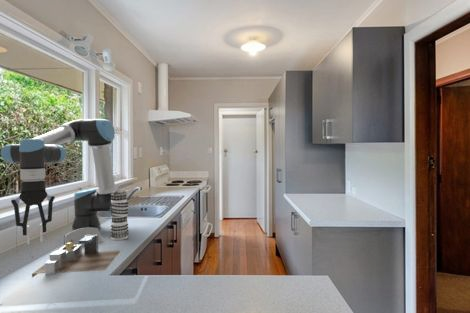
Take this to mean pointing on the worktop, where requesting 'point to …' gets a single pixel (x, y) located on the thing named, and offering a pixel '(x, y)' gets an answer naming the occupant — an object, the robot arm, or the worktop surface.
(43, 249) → the worktop surface
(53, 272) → the link
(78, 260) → the board
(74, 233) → the grey curved arch block
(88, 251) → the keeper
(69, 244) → the brass rounded cylinder
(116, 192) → the decorative candle
